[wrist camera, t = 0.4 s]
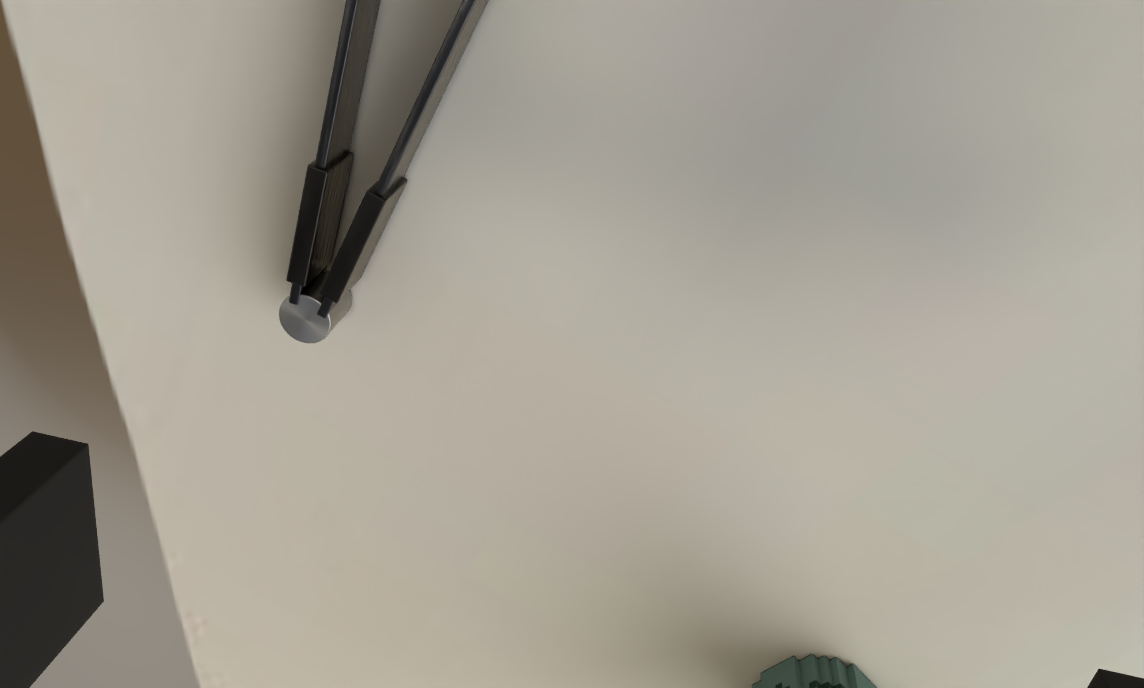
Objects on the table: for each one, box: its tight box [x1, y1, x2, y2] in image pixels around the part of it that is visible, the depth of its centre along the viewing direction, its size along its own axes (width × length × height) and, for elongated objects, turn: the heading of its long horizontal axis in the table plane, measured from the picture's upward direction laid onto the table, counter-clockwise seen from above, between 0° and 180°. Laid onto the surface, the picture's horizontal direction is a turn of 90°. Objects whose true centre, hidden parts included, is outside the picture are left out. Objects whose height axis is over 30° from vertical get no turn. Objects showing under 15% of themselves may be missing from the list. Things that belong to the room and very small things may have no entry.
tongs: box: [279, 0, 489, 343], centre depth 34 cm, size 19×6×3 cm, turn 156°
